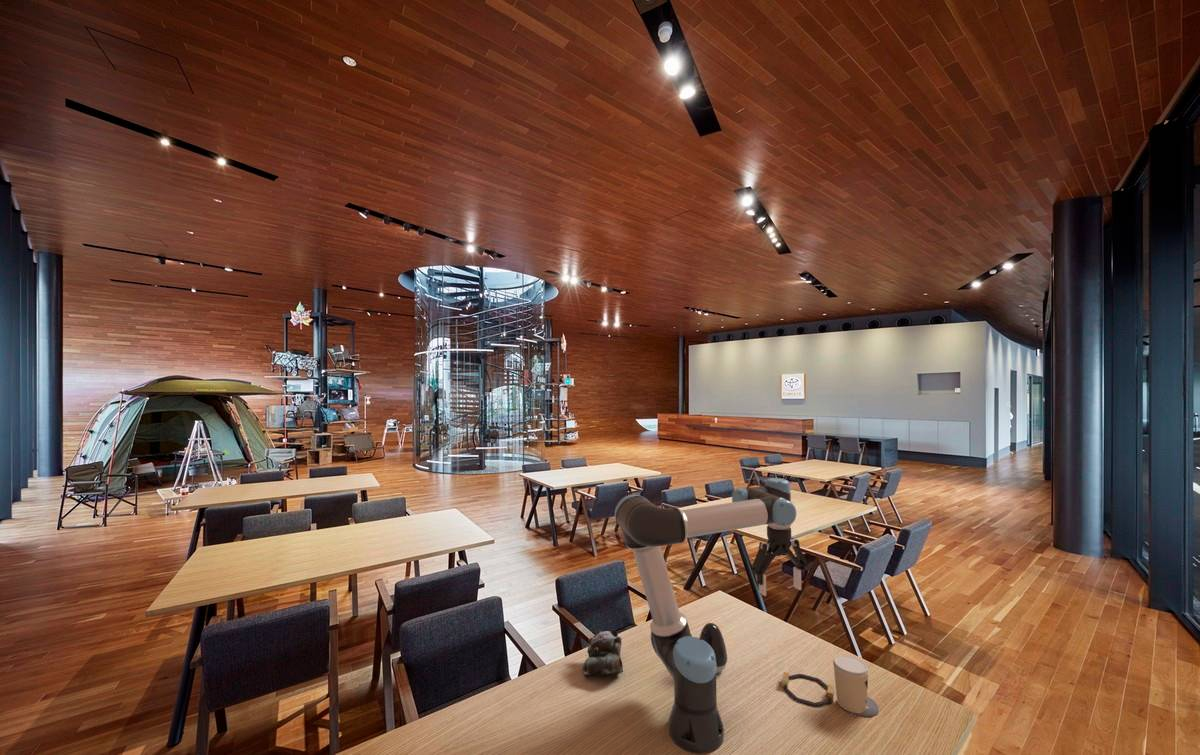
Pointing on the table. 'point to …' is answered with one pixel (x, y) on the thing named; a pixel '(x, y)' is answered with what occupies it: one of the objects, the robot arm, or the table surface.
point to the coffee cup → (851, 683)
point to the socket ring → (830, 687)
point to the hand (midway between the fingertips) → (780, 591)
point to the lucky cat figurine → (604, 654)
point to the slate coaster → (870, 709)
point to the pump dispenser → (715, 644)
